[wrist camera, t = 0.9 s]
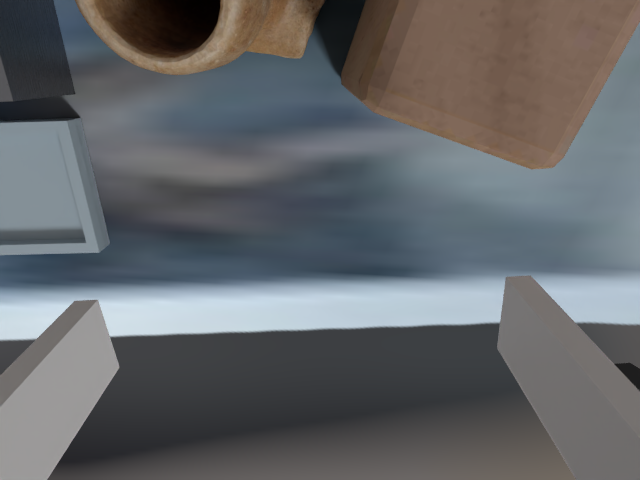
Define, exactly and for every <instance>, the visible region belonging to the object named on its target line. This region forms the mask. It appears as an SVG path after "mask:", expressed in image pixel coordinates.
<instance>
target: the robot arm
mask: <svg viewBox="0 0 640 480" xmlns="http://www.w3.org/2000/svg"><path fill="white" fill-rule="evenodd" d="M497 348H498V350H499V352H500V353H501V355H502V357H503V358H504V360H505V362H506V364H507V365H508V367H509V368H510V370H511V372H512V374H513V375H514V377H515V379H516V380H517V382H518V384H519V385H520V387H521V389H522V390H523V392H524V394H525V395H526V397H527V398H528V400H529V402H530V404H531V405H532V407H533V409H534V410H535V412H536V414H537V415H538V417H539V419H540V420H541V422H542V424H543V425H544V427H545V429H546V430H547V432H548V434H549V435H550V437H551V439H552V440H553V442H554V444H555V445H556V447H557V449H558V450H559V452H560V454H561V455H562V457H563V459H564V460H565V462H566V464H567V465H568V467H569V469H570V470H571V472H572V474H573V475H574V477H575V479H576V480H640V369H639V368H638V367H636V366H634V365H633V364H631V363H623V364H613V363H612V362H611V361H610V359H609V358H608V357H607V356H606V355H605V354H604V353H603V352H602V351H601V350H600V349H599V348H598V347H597V346H596V345H595V343H594V342H593V341H592V340H591V339H590V338H589V337H588V336H587V335H586V334H585V333H584V332H583V331H582V330H581V329H580V328H579V327H578V325H577V324H576V323H575V322H574V321H573V320H572V319H571V318H570V317H569V316H568V315H567V314H566V313H565V312H564V311H563V310H562V308H561V307H560V306H559V305H558V304H557V303H556V302H555V301H554V300H553V299H552V298H551V297H550V296H549V295H548V294H547V293H546V292H545V290H544V289H543V288H542V287H541V286H540V285H539V284H538V283H537V282H536V281H535V280H534V279H533V278H532V277H531V276H515V277H506V281H505V289H504V297H503V305H502V313H501V321H500V330H499V337H498V346H497ZM118 369H119V364H118V361H117V358H116V355H115V352H114V349H113V346H112V342H111V339H110V336H109V333H108V330H107V327H106V324H105V321H104V317H103V314H102V311H101V308H100V305H99V302H98V300H85V301H74V302H73V303H72V304H71V305H70V306H69V307H68V308H67V309H66V310H65V311H64V312H63V313H62V314H61V315H60V316H59V317H58V318H57V319H56V320H55V321H54V322H53V323H52V324H51V325H50V326H49V327H48V328H47V329H46V330H45V331H44V332H43V333H42V334H41V335H40V336H39V337H38V338H37V339H36V340H35V341H34V342H33V343H32V344H31V345H30V346H29V347H28V349H26V350H25V351H24V352H23V353H22V354H21V355H20V357H18V358H17V359H16V360H15V361H14V362H13V364H11V366H10V367H8V368H7V369H6V370H5V371H4V372H3V374H1V376H0V480H47V479H48V477H49V476H50V474H51V473H52V471H53V469H54V468H55V466H56V464H57V463H58V462H59V460H60V459H61V457H62V455H63V453H64V452H65V451H66V449H67V448H68V446H69V444H70V443H71V441H72V440H73V438H74V437H75V435H76V434H77V432H78V431H79V429H80V427H81V426H82V424H83V423H84V421H85V420H86V418H87V416H88V415H89V414H90V412H91V410H92V409H93V407H94V406H95V404H96V403H97V401H98V400H99V398H100V397H101V395H102V393H103V392H104V390H105V389H106V387H107V386H108V384H109V382H110V381H111V379H112V378H113V376H114V375H115V373H116V372H117V370H118Z"/></svg>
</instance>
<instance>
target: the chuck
mask: <svg viewBox="0 0 640 480" xmlns="http://www.w3.org/2000/svg"><path fill="white" fill-rule="evenodd" d="M71 94H75V92H74V87H73V83H72V79H71V74H70V70H69V66H68V62H67V57H66V53H65V49H64V45H63V40H62V36H61V32H60V27H59V23H58V19H57V15H56V10H55V6H54V2H53V0H0V102H7V101H20V100H29V99H37V98H46V97H54V96H62V95H71Z"/></svg>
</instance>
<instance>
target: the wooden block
mask: <svg viewBox="0 0 640 480" xmlns="http://www.w3.org/2000/svg"><path fill="white" fill-rule="evenodd" d="M639 22H640V0H366V1H365V4H364V7H363V10H362V13H361V16H360V19H359V22H358V25H357V28H356V31H355V34H354V37H353V40H352V43H351V46H350V49H349V52H348V55H347V58H346V61H345V64H344V67H343V70H342V73H341V84H342V85H343V86H344V87H345V88H346V89H347V90H348V91H350V92H351V93H352V94H353V95H354V96H355V97H357V98H358V99H359V100H360V101H361V102H362V103H363V104H365V105H366V106H367V107H368V108H369V109H370V110H371V111H373V112H374V113H377V114H380V115H382V116H385V117H388V118H391V119H394V120H396V121H399V122H402V123H405V124H407V125H410V126H413V127H416V128H418V129H421V130H424V131H427V132H430V133H432V134H435V135H438V136H441V137H443V138H446V139H449V140H452V141H455V142H457V143H460V144H463V145H466V146H468V147H471V148H474V149H477V150H480V151H482V152H485V153H488V154H491V155H493V156H496V157H499V158H502V159H504V160H507V161H510V162H513V163H516V164H518V165H521V166H524V167H527V168H529V169H543V168H553V167H554V166H555V165H556V164H557V163H558V162H559V161H560V160H561V159H562V158H563V157H564V156H565V154H566V152H567V151H568V149H569V147H570V145H571V143H572V142H573V140H574V138H575V136H576V134H577V133H578V131H579V129H580V127H581V126H582V124H583V122H584V120H585V118H586V117H587V115H588V113H589V111H590V109H591V108H592V106H593V104H594V102H595V101H596V99H597V97H598V95H599V93H600V92H601V90H602V88H603V86H604V84H605V83H606V81H607V79H608V77H609V76H610V74H611V72H612V70H613V68H614V67H615V65H616V63H617V61H618V59H619V58H620V56H621V54H622V52H623V51H624V49H625V47H626V45H627V43H628V42H629V40H630V38H631V36H632V34H633V33H634V31H635V29H636V27H637V26H638V24H639Z"/></svg>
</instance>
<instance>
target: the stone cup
mask: <svg viewBox="0 0 640 480" xmlns="http://www.w3.org/2000/svg"><path fill="white" fill-rule="evenodd" d="M75 1H76V3H77V6H78V8H79V10H80V12H81V13H82V15H83V17H84V18H85V20H86V21H87V23H88V24H89V25H90V27H91V28H92V29H93V30H94V32H95V33H96V34H97V35H98V36H99V37H100V38H101V39H102V41H103V42H104V43H105V44H106V45H107V46H109V47H110V48H111V49H112V50H113V51H114V52H116V53H117V54H118V55H119V56H121V57H122V58H124V59H126V60H127V61H129V62H131V63H132V64H134V65H136V66H139V67H141V68H144V69H148V70H152V71H155V72H159V73H164V74H172V75H184V74H192V73H197V72H202V71H206V70H210V69H214V68H217V67H221V66H223V65H225V64H228V63H230V62H231V61H233V60H235V59H236V58H238V57H239V56H240V55H241V54H243V53H244V52H245V51H250V52H256V53H265V54H272V55H278V56H281V57H286V58H301V57H302V56H303V54H304V51H305V48H306V45H307V42H308V38H309V36H310V35H311V33H312V31H313V27H314V23H315V20H316V18H317V16H318V14H319V11H320V9H321V7H322V6H323V4H324V2H325V0H75Z"/></svg>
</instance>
